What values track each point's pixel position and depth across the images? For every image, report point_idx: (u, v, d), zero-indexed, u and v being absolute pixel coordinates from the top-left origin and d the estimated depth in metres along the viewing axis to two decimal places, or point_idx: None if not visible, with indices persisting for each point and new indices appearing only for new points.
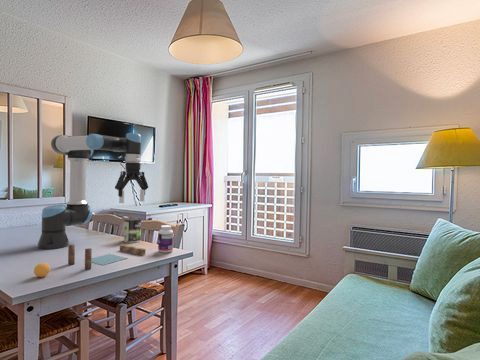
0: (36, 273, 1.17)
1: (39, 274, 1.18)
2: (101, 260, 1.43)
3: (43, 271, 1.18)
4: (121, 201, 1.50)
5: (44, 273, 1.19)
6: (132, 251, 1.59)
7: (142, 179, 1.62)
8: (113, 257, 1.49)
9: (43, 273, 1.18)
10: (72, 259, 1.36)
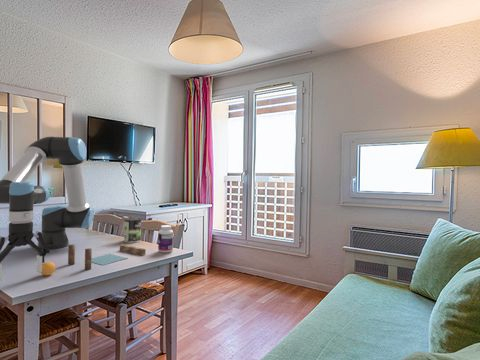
0: (42, 268, 1.19)
1: (44, 270, 1.19)
2: (101, 260, 1.43)
3: (50, 269, 1.20)
4: None
5: (49, 271, 1.20)
6: (132, 251, 1.59)
7: (39, 242, 1.19)
8: (113, 257, 1.49)
9: (48, 270, 1.20)
10: (72, 259, 1.36)
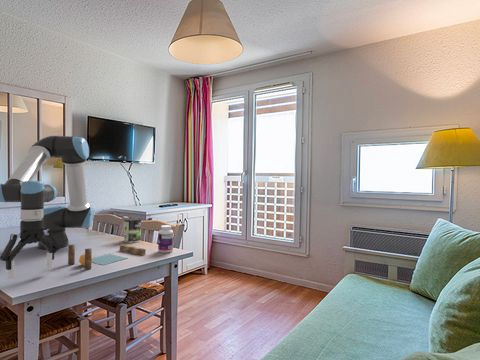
0: (81, 260, 1.34)
1: (84, 262, 1.34)
2: (101, 260, 1.43)
3: None
4: (10, 275, 1.10)
5: None
6: (132, 251, 1.59)
7: (49, 239, 1.22)
8: (113, 257, 1.49)
9: None
10: (72, 259, 1.36)
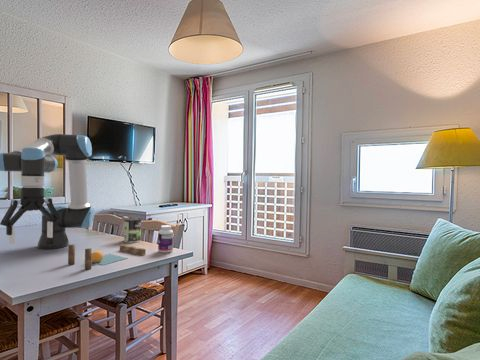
0: None
1: (100, 253, 1.41)
2: (101, 260, 1.43)
3: (101, 256, 1.40)
4: (11, 241, 1.10)
5: (99, 256, 1.39)
6: (132, 251, 1.59)
7: (50, 208, 1.22)
8: (113, 257, 1.49)
9: (100, 255, 1.40)
10: (72, 259, 1.36)
